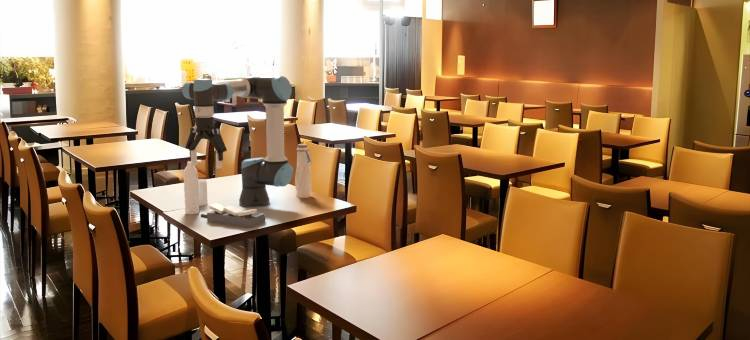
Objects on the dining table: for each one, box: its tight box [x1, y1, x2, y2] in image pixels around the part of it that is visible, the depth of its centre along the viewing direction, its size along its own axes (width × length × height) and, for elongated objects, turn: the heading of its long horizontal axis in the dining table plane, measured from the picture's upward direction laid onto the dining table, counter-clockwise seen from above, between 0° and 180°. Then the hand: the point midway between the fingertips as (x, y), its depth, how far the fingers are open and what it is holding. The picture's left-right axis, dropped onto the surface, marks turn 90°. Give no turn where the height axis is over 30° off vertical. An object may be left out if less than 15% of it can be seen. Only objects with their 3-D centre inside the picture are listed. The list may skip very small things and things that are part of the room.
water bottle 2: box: [294, 143, 313, 199], centre depth 325 cm, size 10×9×28 cm
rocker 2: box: [223, 204, 244, 216], centre depth 274 cm, size 5×7×1 cm
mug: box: [198, 178, 209, 207], centre depth 306 cm, size 8×12×12 cm
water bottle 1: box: [182, 159, 202, 215], centre depth 290 cm, size 9×6×25 cm
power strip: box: [200, 210, 266, 229], centre depth 278 cm, size 11×33×5 cm, turn 64°
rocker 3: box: [237, 208, 258, 216], centre depth 271 cm, size 5×7×1 cm
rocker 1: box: [208, 202, 226, 214], centre depth 277 cm, size 5×7×1 cm
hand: (206, 167), depth 257 cm, fingers open, 13 cm apart
